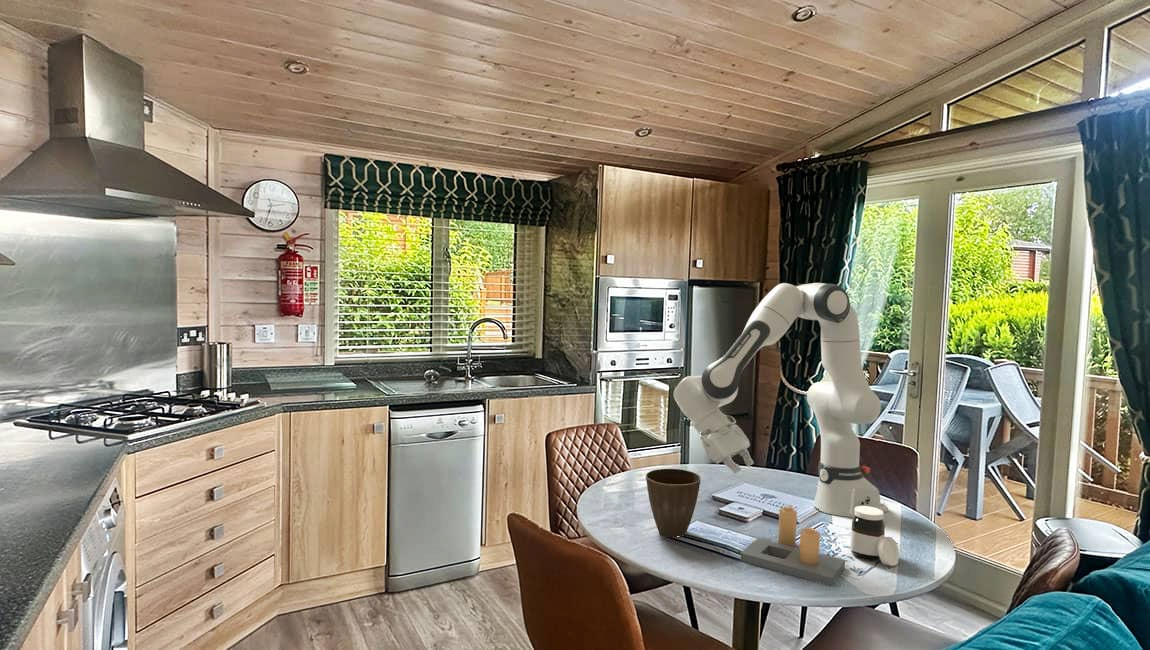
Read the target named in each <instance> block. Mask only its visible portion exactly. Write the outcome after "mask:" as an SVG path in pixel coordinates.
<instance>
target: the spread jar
mask: <svg viewBox="0 0 1150 650" xmlns="http://www.w3.org/2000/svg"><path fill="white" fill-rule="evenodd" d="M884 513H885V512H883V511H882V510H880V509H878V508H874V507H869V506H858V507H855V513H854V514H855V516H854V517H853V518H852V520H851V534H850V535H851V537H850V539H851V540H850V552H851V553H852V554H853V555H854V556H855V557H857V558H860V559H862V558H863V559H862V560H867V559H868V560H869V561H878V560H880V561H881V563H882V564H883V565H885V566H888V567H889V566H890V567H893V566H894V567H895V566H896V565H897V564H898V562H899V560H900V549H899V546H898V544H897V541H896V540H895V539H894V538H893V537H891V536H886V535H885V533H886V532H885V530H886V529H885V528H886V526H885V524H886V523H885V520H884ZM868 560H867V561H868Z"/></svg>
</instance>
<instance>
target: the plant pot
mask: <svg viewBox="0 0 1150 650" xmlns="http://www.w3.org/2000/svg"><path fill="white" fill-rule="evenodd" d="M645 479H646V489H647V495H648V499H649V504H650V509H651V512H652V517H653V519H654V523H655V525H656V528H657V531H658V533H659V535H661V536H664V537H666V538H671V537H677V536H682V535H684V534H685V533H686V534H687V532H688V529H689V527H690V524H691V521H692V518H693V516H694V512H695V510H696V509H695V508H696V504H697V502H698V501H697V500H698V496H699V493H700V485H701V480H702V478H701V476H700V475H699V474H697V473H695V472H693V471H690V470H685V469H680V468H659V469H654V470H651V471H650V470H649V471H648V472H647V473H646V474H645ZM686 534H685V535H686ZM685 535H684V536H685ZM682 537H683V536H682Z"/></svg>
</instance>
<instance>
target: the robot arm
mask: <svg viewBox="0 0 1150 650" xmlns="http://www.w3.org/2000/svg"><path fill="white" fill-rule="evenodd" d="M796 319H804V320H808V321H809V320H810V321H818V322H819V323H818V324H819V327H820V348H821V349H820V354H821V365H822V367H823V368H824V370H825V371H826V372H827V374H828V375H829V377H830V379H831V380H823V381H817V382H814V383H813V384H811V386H810V387H809V388H808V390H807V393H806V400H807V404H808V406H809V408H810V409H811V410H812V411H813V413H814V415H815V418H816V422H817V426H818V429H819V433H820V460H819V461H818V477H819V478H818V480H817V481H818V482H817V488H816V493H815V496H814V501H813V503H812V505H813V504H814V505H815V506H817V507H818V508H819V510H818V511H820V512H822V513H825V514H829V515H834V516H839V517H846V518H847V517H848V518H852V519H853V517H854V516H855V514H854V513H855V507H858V506H869V507H874V508H878V509H880V510H882V511H883V512H884V513H886V512H889V507H888V506H887V505H886V504H884V503H883V502H881V495H880V492H879V489H878V488H877V487H876V486H875V485H873V484H872V483H871V482H870V481H868V480H867V478H865V477H864V474H863V473H865V474H870V472H871V468H870V467H868V466H865V465H862V466H861V464H860V454H861V453H860V448H861V442H860V438H859V436H858V435H857V434H856V433H855V431H854V429H853V428H852V424H854V425H857V424H858V425H869V424H873V423H874V422H875V421H876V420H877V419H878V418H879V417H880V414H881V412H882V411H881V409H882V403H881V400H880V398H879V396H878V395H877V394H876V393H875V392H874V391H873V390H872V388H871V386H870V384H869V383H868V380H867V378H866V376H865V372H864V369H863V365H862V354H861V337H860V335H861V334H860V327H859V320H858V315H857V313H856V310H855V308H854V307H853V306H852V305H851V303H850V298H849V295H848V293H847V291H846V290H845V289H844V288H843V287H842V286H840V285H837V284H836V283H835V284H834V283H824V282H823V283H822V282H813V283H806V284H805V283H799V284H798V283H797V284H796V285H794V284H790V283H786V282H782V283H779V284H777V285H775V286H774V287H773V288H772V289H771V290H770V291H769V292H768V293H767V294H766V295H765V296H764V297H763V298H762V299H761V301H760V302H759V303H758V304H757V306H756V307H755V309H754V310H753V311H752V313H751V315H750V317H749V318H748V320H747V321H746V324H745V326H744V329H743V331H742V333H741V334H740V336H738V338H737V339H736V340H735V342H734V343H733V344H732V346H731V347H730V348H729V350H728V351H727V352H726V353H725V354H724V355H723V356H722V357H720V358H719V359H718V360H716V361H714V362H712V363H709V365H708V366H706V367H705V369H704V370H703V372H702V374H701V375H696V376H695V375H692V376H691V375H687V376H685V377H683V379H681V380H680V381H679V382H678V383H677V384H676V386H675V387H674V390H673V398H674V401H675V403H676V404H677V405H678V407H679V409H680V410H681V411H682V413H683V414H684V416H685V417H686V418H688V420H690V422H691V423H692V425H693V428H694V429H695V430H696V432H697V433H698V434H699V436H700V439H701V445H702V447H703V449H704V450H705V452H706V453H707V455H708V456H709V458H710V459H711V460H712V462H713V463H715V464H719V463H721V462H722V463H723V464H724V465H725V466H726V467H728V468H729V469H731V471H732V472H733V473H734V474H737V473H739V472H740V471H742V467H740V465H739V464H738V463H735V462H734V460H733V457H734V456H736V455H738V454H739V455H740V456H741V457H742V458H743V460H744V462H743V463H744V464H745V466H747V467H750V466H752V465H753V464H755V463H754V462H755V461H754V460H753V459H752V458H751V455H750V453H749V450H748V448H749V447H750V446H751V442H750V440H749V438H748V437H747V435H746V434H745V433H744V431H743V430H742V428H741V427H740V426H739V425H738V424H736V423H737V421H736V419H735V418H734V417H733V416H732V415H726V414H725V413H723V412H722V411H721V410H720V408H721V407H723V406H726V405H728V404H730V403H732V402H733V401H734V400H735V398H736V397H737V396H738V392H739V384H740V381H741V380H740V379H741V375H742V372H743V370H745V368H746V366H747V365H748V364H749V362H750V361H751V360H752V358H753V357H754V356H755V355H756V354H757V352H758V351H759V350H760V349H762V348H763V347H766V346H767V347H768V346H773V345H775V344H776V343H777V342H778V341H779V340H780V339H781V338H782V337H784V335H785V334H786V332H787V331H788V330H789V329H790V327H791V326H792V324H793V323H794V321H795V320H796Z"/></svg>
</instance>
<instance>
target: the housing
mask: <svg viewBox="0 0 1150 650" xmlns="http://www.w3.org/2000/svg"><path fill="white" fill-rule="evenodd" d="M799 532H800V533H799V534H800V535H799V547H796V546H794V547H792V546H788V545H784V544H780V543H778V542H774V541H772V540H768V539H764V538H761V537H760V538H759V537H757V538H756V539H755V540H754V541H752V543H750V544H749V545H748V546H747V547H745V548H744V549H743V550H742V551H741V552H740V558H739V561H741V562H744V563H748V564H752V565H755V566H757V567H758V566H759V567H762V568H766V569H769V570H773V571H776V572H780V573H784V574H787V575H791V576H795V577H797V576H798V578H801V579H806V580H808V579H809V581H812V580H813V581H812V582H815V581H817V582H816V583H819V582H821V583H820V584H822V583H824V585H826V584H828V585H827V586H830V585H832V584H833V583H836V581H837V580H838V578H839V577H840V575H842V573H843V572H844V570H845V568H846V560H845V559H842V558H838V557H834V556H830V555H826V554H822V553H820V535H821V533H820V532H819V531H817V530H816V528H812V527H809V526H806V527H805V529H801V530H800V531H799ZM769 554H771V555H769ZM772 555H774V556H772ZM776 556H779V557H782V558H779V557H776ZM836 579H837V580H836ZM833 585H834V584H833ZM833 585H832V586H833Z"/></svg>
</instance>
